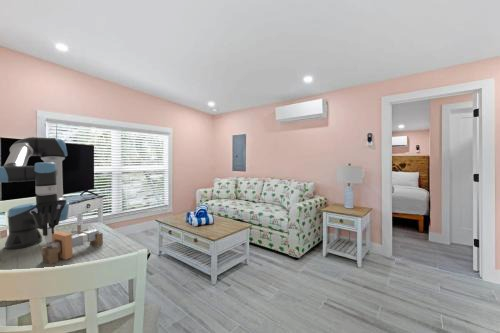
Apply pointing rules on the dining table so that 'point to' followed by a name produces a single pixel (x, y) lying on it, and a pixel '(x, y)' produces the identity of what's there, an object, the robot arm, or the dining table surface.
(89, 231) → the grey long bar
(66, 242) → the peach rectangular loop
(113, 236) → the dining table surface
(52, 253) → the stand
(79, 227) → the pipe connector
